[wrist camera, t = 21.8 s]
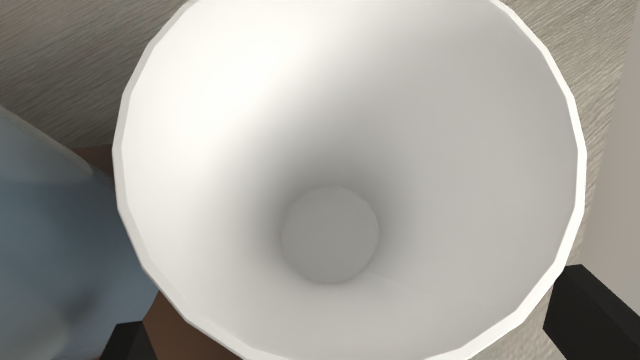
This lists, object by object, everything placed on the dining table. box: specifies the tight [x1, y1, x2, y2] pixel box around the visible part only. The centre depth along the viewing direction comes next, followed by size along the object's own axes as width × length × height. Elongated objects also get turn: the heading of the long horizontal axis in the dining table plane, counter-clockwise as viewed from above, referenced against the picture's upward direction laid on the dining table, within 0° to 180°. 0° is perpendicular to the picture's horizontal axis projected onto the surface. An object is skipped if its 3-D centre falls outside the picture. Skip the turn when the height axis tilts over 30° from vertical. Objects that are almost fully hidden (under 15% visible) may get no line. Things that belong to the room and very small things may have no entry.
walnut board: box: [70, 144, 243, 360], centre depth 21 cm, size 37×14×2 cm, turn 97°
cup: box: [112, 0, 587, 360], centre depth 15 cm, size 10×10×14 cm
